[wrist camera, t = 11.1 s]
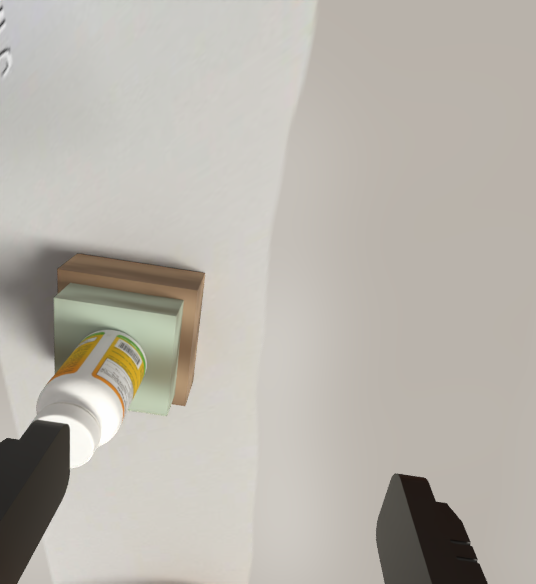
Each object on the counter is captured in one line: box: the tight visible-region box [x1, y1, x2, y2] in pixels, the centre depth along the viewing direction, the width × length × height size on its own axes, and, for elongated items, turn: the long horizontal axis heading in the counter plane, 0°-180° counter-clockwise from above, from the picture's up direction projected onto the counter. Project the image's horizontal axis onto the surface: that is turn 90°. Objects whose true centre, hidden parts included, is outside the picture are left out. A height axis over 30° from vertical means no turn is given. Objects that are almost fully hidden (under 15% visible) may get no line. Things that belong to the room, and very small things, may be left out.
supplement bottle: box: [30, 330, 147, 469], centre depth 33 cm, size 5×5×10 cm
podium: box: [54, 253, 205, 416], centre depth 41 cm, size 11×11×7 cm
